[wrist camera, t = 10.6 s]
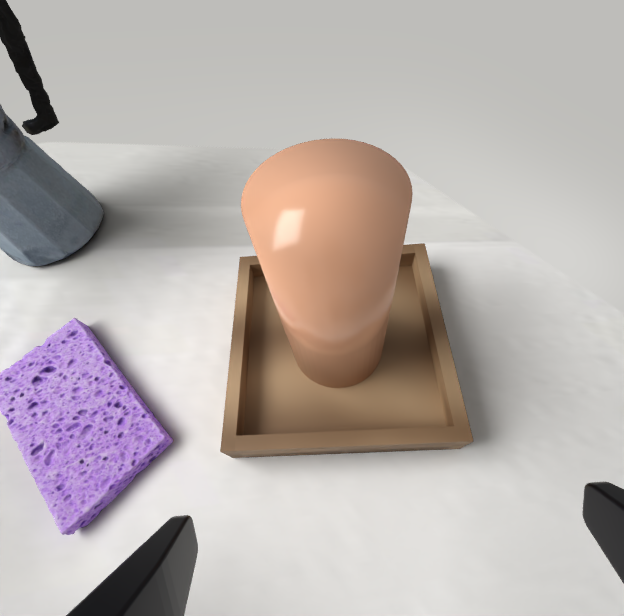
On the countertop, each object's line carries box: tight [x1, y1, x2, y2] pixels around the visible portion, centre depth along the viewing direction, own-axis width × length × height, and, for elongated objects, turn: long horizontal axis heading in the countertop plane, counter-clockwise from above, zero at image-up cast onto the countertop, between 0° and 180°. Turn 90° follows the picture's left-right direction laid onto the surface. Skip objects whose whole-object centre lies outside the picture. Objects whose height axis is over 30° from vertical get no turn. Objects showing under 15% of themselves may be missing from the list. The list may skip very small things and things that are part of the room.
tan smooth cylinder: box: [241, 139, 412, 388], centre depth 18 cm, size 6×6×13 cm
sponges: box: [0, 318, 173, 535], centre depth 23 cm, size 7×13×2 cm, turn 46°
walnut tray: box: [220, 243, 473, 458], centre depth 23 cm, size 14×14×2 cm
